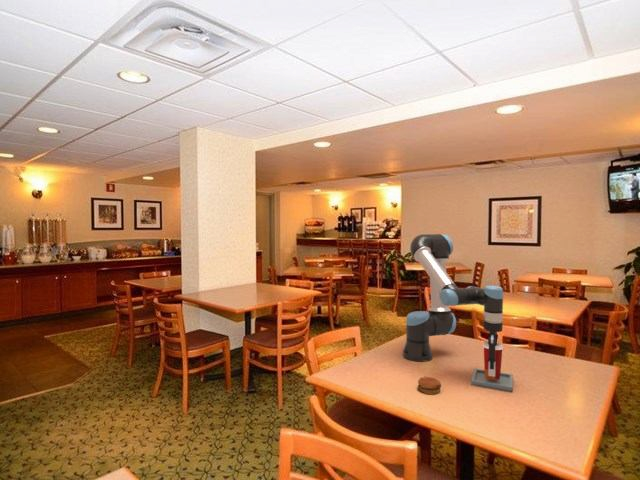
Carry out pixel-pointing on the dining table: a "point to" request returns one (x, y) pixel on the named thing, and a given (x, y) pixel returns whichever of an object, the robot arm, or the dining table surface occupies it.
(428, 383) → the burger
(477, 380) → the tray
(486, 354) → the coffee cup
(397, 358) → the dining table surface
